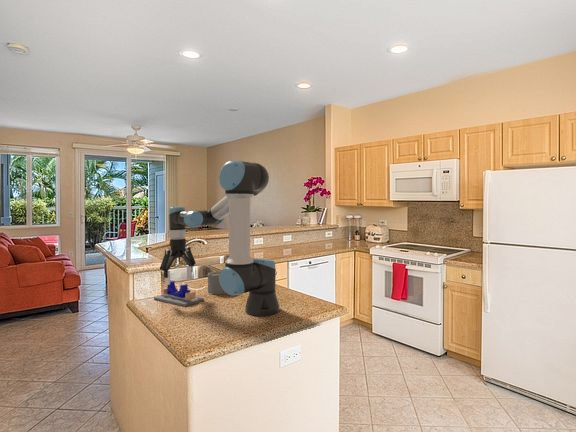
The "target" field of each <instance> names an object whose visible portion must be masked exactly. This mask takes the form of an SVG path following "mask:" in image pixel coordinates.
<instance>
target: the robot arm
mask: <svg viewBox="0 0 576 432" xmlns="http://www.w3.org/2000/svg"><path fill="white" fill-rule="evenodd" d="M269 181H270V175H269V172H268V170H267V169H266V167H265V166H263V165H262V164H260V163H259V162H249V161H242V160H229V161H227V162H225V163H224V164H223V166H222V167H221V169H220V171H219V176H218V182H219V185H220V187H221V188H222V189H223V190H224V191H225V193H224V195H225V196H224V197H223V198H222V199H220V200H219V201H218V202H217V203H215V204H214V205H213V206H212V207H210V208H209V209H207V210H206V209H205V210H186V208H185V207H184V206H170V207H169V208H168V209H169V210H168V212H169V213H168V220H169V221H168V223H169V238H170V239H169V247H170V249H165V250H164V255H163V258H162V261H161V264H160V266H159V270H160V271H162V272H163V278H164V285H170V282H171V270H170V268H171V266H172V265H173V263H174V262H175V260H176V259H178V258H182V259H183V261H184V262H185V263H186V265H187V266H186V280H193V269H194V268H193V267H194V266H195V265H196V263H197V262H196V260H195V258H194V257H195V256H194V255H193V253H192V250H191V247H190V246H187V239H186V237H187V233H186V231H187V230H186V228H187V227H188V228H197V227H206V226H208V227H210V226H218V225H222V224H223V222H224V220H225V217H227V216H228V257H227V259H226V260H225V261H224V263H225V264H224V265H225V266H224V268H222V269H221V270H220V271H219V272H220V274H219V281H220V285H221V287H222V288H223V290H224V291H225V292H226V293H225V294H227V295H229V296H240V295H243V294H247V293H248V297H247V300H246V303H245V307H244V308H245V309H244V311H245V313H246V314H248V315H251V316H256V317H259V316H260V317H263V316H264V317H265V316H273V315H276V314H278V313H279V312H280V303H279V300H278V297H277V294H276V292H277V291H276V285H277V283H276V275H277V274H276V273H277V271H276V270H277V268H276V263H275V261H274V260H273V259H266V258H253V257H251V198H253V196H254V197H255V196H258V195H259V194H260V193H261V192H263V191H264V190H265V189H266V187H267V186H268V184H269Z"/></svg>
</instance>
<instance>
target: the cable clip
mask: <svg viewBox="0 0 576 432" xmlns="http://www.w3.org/2000/svg"><path fill="white" fill-rule="evenodd" d="M166 285H167V284H166ZM188 286H189V285H188V284H187V283H183V284H180V287H179V290H178V289H177V287H176V284H175V281H174V280H172V281H171V280H170V285H167V287H166V288H168V294H169V295H172V296H176V297H180V298H185V293H189V292H191V289H189V288H188Z"/></svg>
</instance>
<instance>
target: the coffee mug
mask: <svg viewBox="0 0 576 432" xmlns="http://www.w3.org/2000/svg"><path fill="white" fill-rule="evenodd" d="M220 272H221V271H212V272H208V273H207V293H208V294H209V295H222V294H227V293H226V292H225V291H224V290H223V288H222V287H221V285H220V281H219V274H220Z"/></svg>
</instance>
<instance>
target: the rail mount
mask: <svg viewBox="0 0 576 432" xmlns="http://www.w3.org/2000/svg"><path fill="white" fill-rule="evenodd" d="M154 299H157V300H156V301H158V300H160V301H159V302H162V301H163V303H166V302H167V304H171V305H176V306H180V307H185V308H186V307H189V306H191V305H196V304H197V303H200V302H203V301H205V298H204V297H200V296H197V295H196V291H193V290H192V291H190V292H189V293H185V298H180V297H176V296H172V295H169V294H168V288H167V287H164V288H162V290H161V293H160V295H157V296H154V297H153V300H154Z"/></svg>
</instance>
